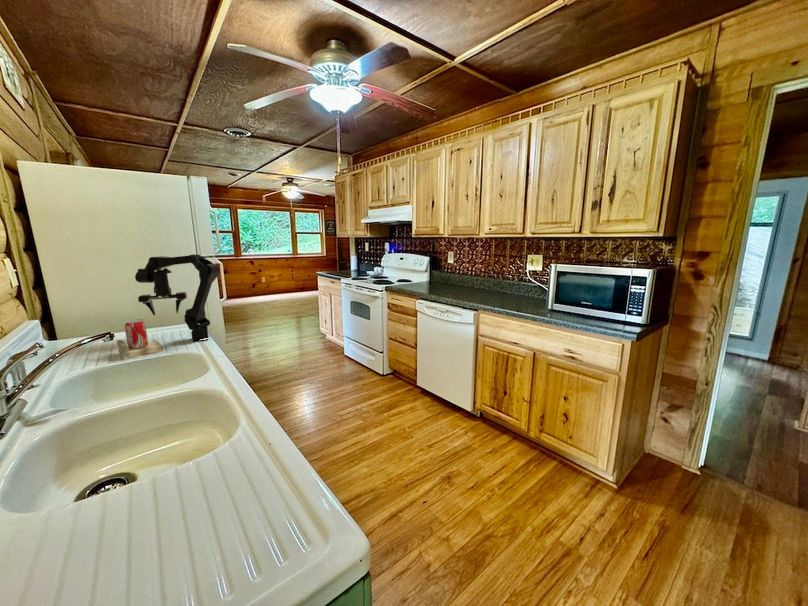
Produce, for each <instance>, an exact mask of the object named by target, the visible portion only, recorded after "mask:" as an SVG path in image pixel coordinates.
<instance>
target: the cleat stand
mask: <svg viewBox="0 0 808 606" xmlns="http://www.w3.org/2000/svg"><path fill="white" fill-rule="evenodd" d="M116 344H117V349H118V354H119V355H120V356H121V357H122V358H123V359H124V360H129V359H134V358H139V357H143V356H146V355H151V354H157V353H161V352H164V345H162V344H161V343H160V342H159V341H157V340H151V341H148V345H147V346H146V347H144V348H140V349H132V348H129V346H128V343H126V342H125V341H124V340H123V339H117V340H116Z"/></svg>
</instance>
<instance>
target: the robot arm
mask: <svg viewBox="0 0 808 606" xmlns="http://www.w3.org/2000/svg"><path fill="white" fill-rule="evenodd" d="M184 264H185V265H186V264H192V265H193V266H194V268H195V270H197V271H198V272H199V274H198V276H199V279H200V282H199V285H198V288H197V291H196V295H195V299H194V302H193V305H192V307H191V308H187V309H186V310H185V314H184V316H183V318H184V322H185V324H186V325H187V327H188V329H189V330H191V331H190V333H191V341H196V342H200V341H199V340H200V339H204V338H208V337H209V338H210V335H209V330H208V329H209V328H208V326H210V325H211V321H210V320H209V319H208V318H207V317H206V311H205V307H206V304H207V299H208V296H209V294H210V291H211V287H212V285H213V283H214V281H216V279H217V278H218V276H219V274H220V272H221V268H220V267H219V265H218V264H217V263H213V262H212V261H210V260H208V259H207V258H206V257H205V258H204V257H203V256H202V255H200V254H197V253H194V254H190V255H182V256H162V255H161V256H150V257H149V258H148V260H147V264H146V265H145V267H144V268H138V269H137V271H136V273H135V276H134V279H135V281H136V282H137V283H141V284H142V283H143V284H152V283H153V286H154V287H153V293H154V294H155V295H151V294H150V293H149V294H141V295H139V296H138V297H137V300H138V303H142V305H143V304H144V305H145V306H147V308H148V309H149V311H150V312H151V313H152V315H153V316H156V311H155V307H154V304H153V300H164V299H176V300H175V312H176V314H178V313H179V309H180V306H181V302H182V301H185V300H186V299H187V298H188V294H187V292H186V291H180V292H176V293H172V288H171V287H170V283H169V282H170V281H169V276H168V274H171V273H172V271H171V270H170V269H168V268H169V267H172V266H174V265H184Z"/></svg>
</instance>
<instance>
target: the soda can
mask: <svg viewBox="0 0 808 606" xmlns="http://www.w3.org/2000/svg"><path fill="white" fill-rule="evenodd" d="M124 331H125V332H124V333H125V337H126V342H127V343H126V344H127V346H129V348H132V349H140V348H144V347H146V346H147V345H148V342H149V339H148V332H147V328H146V323H145V322H144V321H143V319H141V318H140V319H130V320H126V321H125V324H124Z"/></svg>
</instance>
